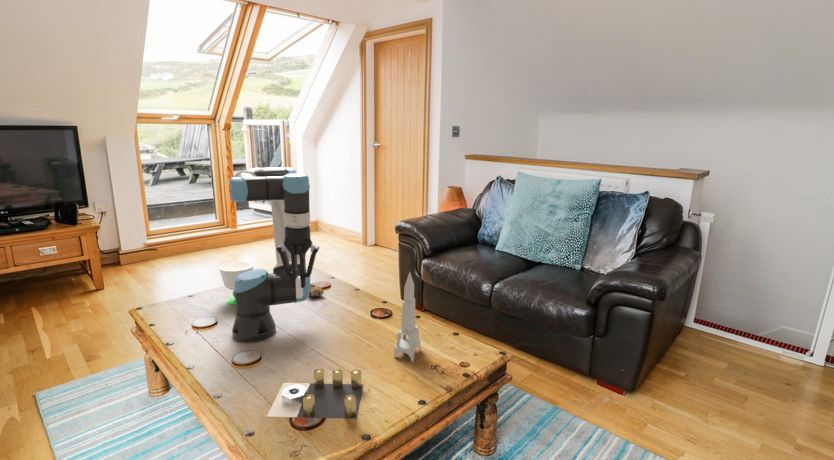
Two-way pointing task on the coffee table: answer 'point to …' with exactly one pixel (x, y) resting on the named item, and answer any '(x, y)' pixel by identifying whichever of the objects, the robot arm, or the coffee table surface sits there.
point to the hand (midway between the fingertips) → (299, 296)
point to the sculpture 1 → (315, 290)
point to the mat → (317, 402)
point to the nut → (293, 395)
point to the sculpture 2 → (408, 323)
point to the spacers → (337, 384)
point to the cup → (233, 274)
